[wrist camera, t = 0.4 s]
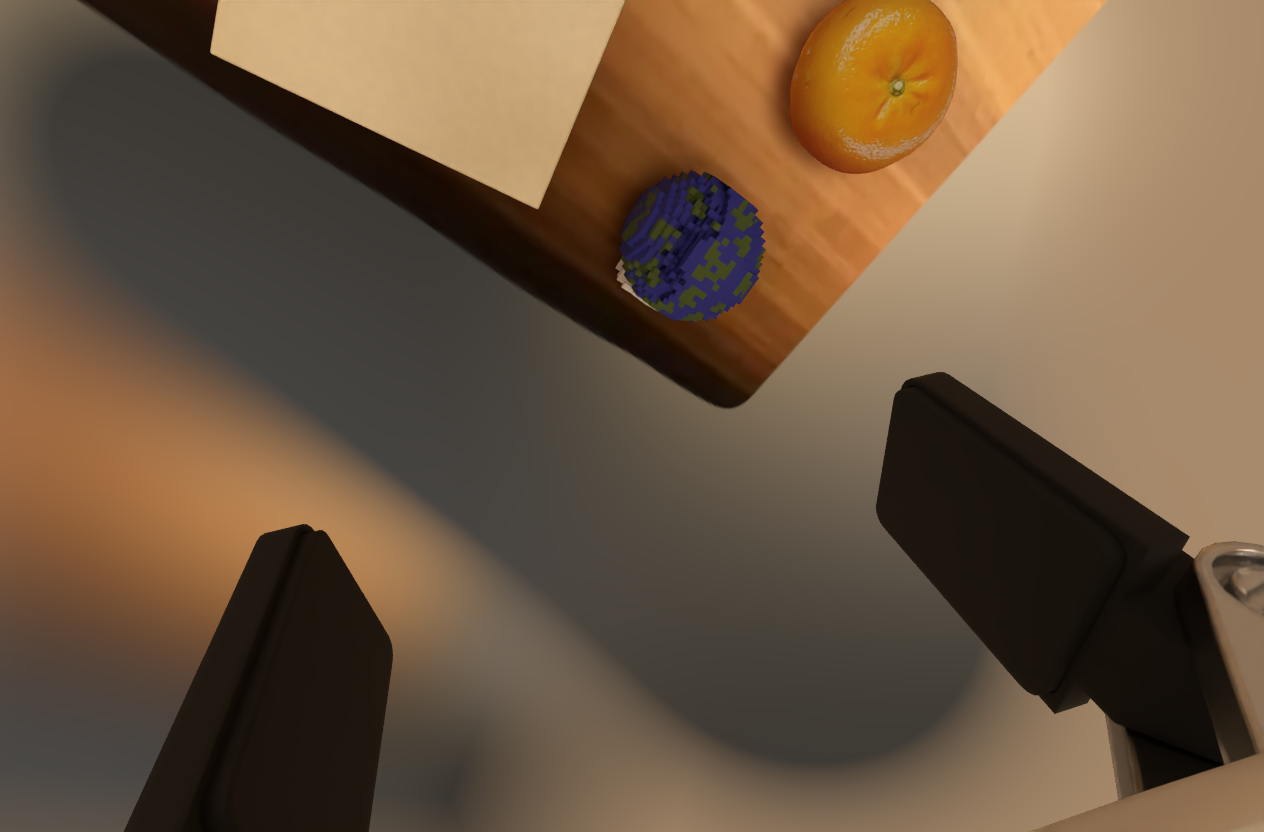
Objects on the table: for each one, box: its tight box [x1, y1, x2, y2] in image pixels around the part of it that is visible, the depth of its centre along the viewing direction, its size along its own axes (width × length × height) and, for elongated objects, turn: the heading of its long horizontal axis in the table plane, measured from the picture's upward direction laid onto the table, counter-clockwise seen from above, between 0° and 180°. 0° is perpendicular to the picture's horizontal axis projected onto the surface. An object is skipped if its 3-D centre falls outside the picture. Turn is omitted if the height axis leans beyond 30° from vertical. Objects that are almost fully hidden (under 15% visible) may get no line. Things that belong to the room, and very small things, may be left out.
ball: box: [616, 170, 766, 322], centre depth 33 cm, size 8×8×8 cm
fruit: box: [790, 0, 957, 174], centre depth 31 cm, size 8×8×8 cm
